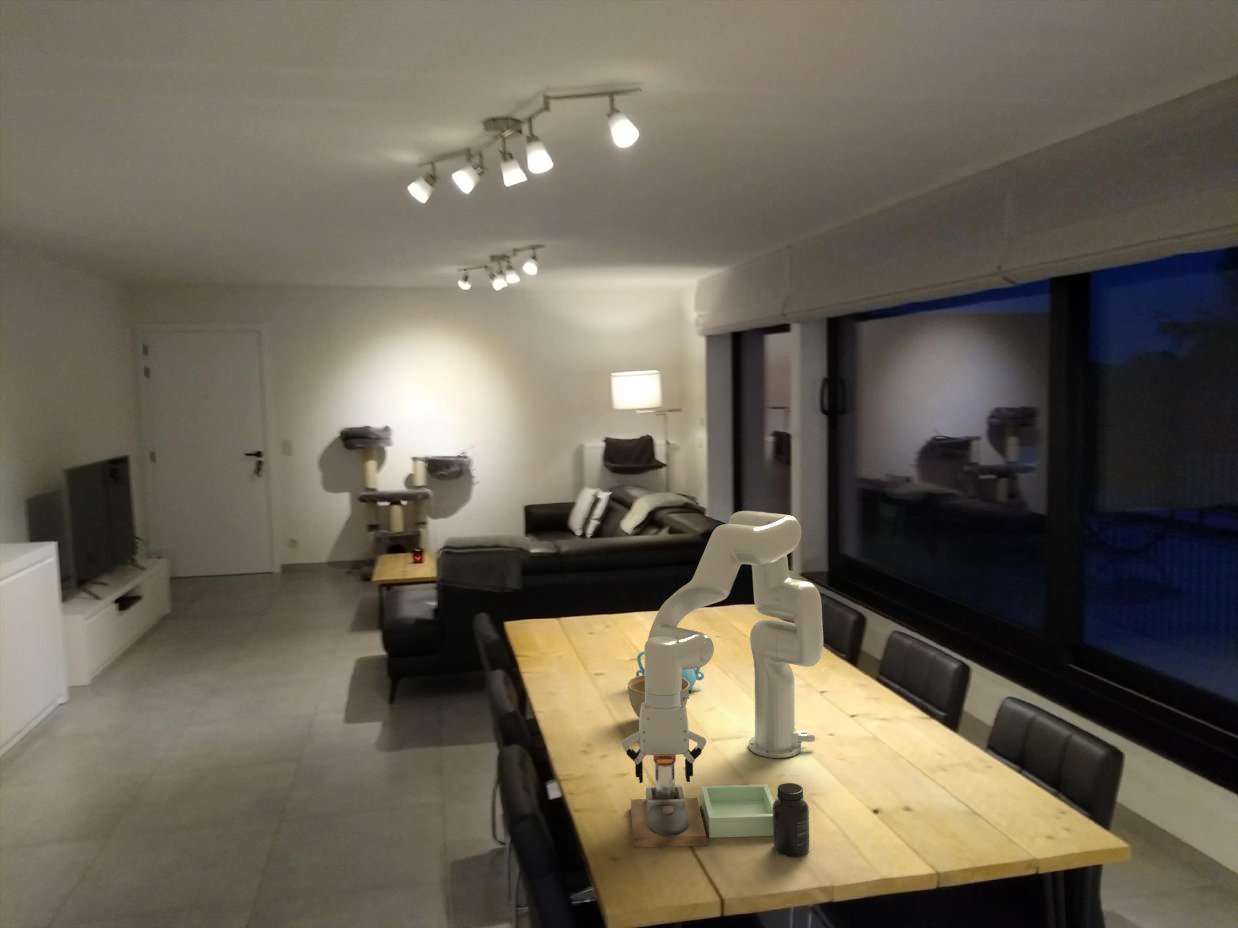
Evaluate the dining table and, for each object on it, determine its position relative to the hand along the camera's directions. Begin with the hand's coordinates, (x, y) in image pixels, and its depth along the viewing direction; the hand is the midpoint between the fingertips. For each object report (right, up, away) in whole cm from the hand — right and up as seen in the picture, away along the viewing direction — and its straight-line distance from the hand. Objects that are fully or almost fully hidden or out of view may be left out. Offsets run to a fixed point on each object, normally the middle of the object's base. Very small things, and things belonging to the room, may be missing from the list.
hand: (664, 779), depth 184 cm
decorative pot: (+6, -1, +79) cm, 79 cm away
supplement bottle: (+24, -9, -13) cm, 28 cm away
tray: (+15, -8, -1) cm, 17 cm away
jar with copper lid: (0, -6, +1) cm, 6 cm away
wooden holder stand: (0, -8, -3) cm, 9 cm away
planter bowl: (+1, -4, +52) cm, 52 cm away
